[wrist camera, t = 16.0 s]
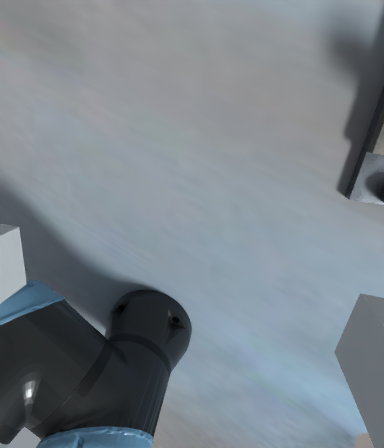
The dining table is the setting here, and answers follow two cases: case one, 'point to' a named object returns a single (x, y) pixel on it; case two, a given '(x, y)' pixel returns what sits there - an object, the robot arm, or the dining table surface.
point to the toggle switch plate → (370, 163)
